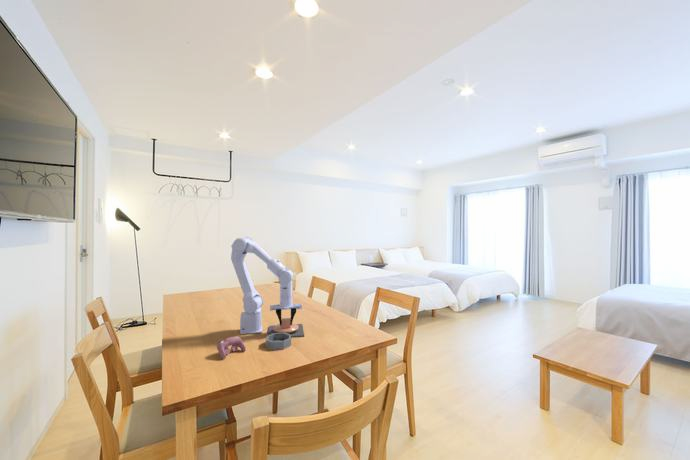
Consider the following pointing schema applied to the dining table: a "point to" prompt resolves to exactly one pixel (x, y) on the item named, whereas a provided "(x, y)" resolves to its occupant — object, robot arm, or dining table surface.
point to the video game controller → (224, 344)
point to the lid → (285, 326)
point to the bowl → (278, 341)
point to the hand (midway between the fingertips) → (285, 324)
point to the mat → (293, 334)
